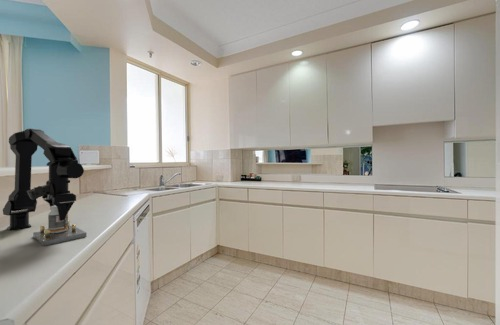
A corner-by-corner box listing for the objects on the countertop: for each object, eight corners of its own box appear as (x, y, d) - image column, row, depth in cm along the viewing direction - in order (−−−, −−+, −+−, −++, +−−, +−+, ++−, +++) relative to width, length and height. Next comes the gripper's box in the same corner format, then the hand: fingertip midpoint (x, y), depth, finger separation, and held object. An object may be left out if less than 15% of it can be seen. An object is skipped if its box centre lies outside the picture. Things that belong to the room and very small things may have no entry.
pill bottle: (70, 230, 85) (70, 205, 85) (51, 234, 80) (51, 207, 80) (64, 228, 88) (64, 203, 88) (45, 232, 83) (46, 206, 83)
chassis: (33, 236, 83) (33, 225, 83) (72, 229, 93) (72, 219, 93) (43, 246, 73) (43, 234, 73) (86, 236, 83) (86, 226, 83)
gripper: (24, 177, 83) (23, 219, 83) (35, 180, 72) (34, 227, 72) (62, 176, 92) (61, 213, 92) (76, 178, 81) (76, 220, 81)
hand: (58, 218), depth 84 cm, fingers open, 9 cm apart
